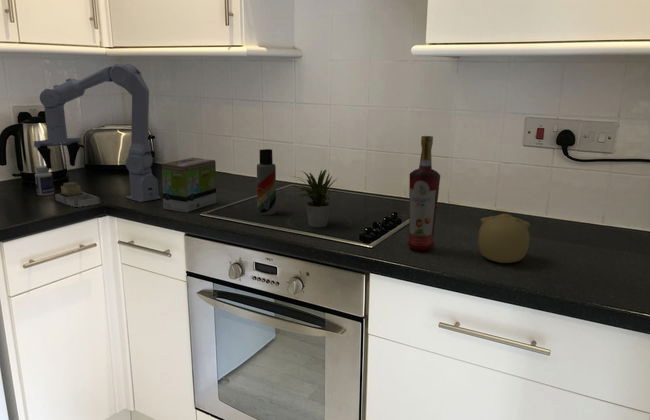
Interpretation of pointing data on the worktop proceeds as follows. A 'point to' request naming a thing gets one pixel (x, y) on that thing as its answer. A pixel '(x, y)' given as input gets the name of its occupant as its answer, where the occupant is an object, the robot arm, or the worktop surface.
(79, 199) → the grey flat frame
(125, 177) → the worktop surface
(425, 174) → the liquor
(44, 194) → the pill bottle
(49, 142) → the robot arm
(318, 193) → the house plant
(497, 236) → the sculpture
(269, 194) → the lotion bottle
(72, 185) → the block
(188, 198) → the tea box
